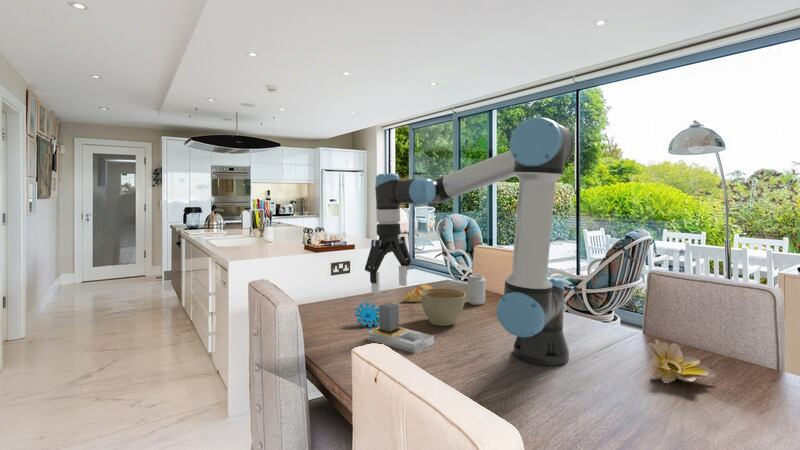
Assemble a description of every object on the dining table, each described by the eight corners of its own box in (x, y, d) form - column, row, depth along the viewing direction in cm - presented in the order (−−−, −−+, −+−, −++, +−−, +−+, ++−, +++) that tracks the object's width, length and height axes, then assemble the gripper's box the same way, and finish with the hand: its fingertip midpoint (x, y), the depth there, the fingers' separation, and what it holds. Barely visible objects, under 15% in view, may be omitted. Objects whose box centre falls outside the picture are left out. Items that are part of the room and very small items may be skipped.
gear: (357, 325, 141) (354, 300, 147) (352, 333, 145) (350, 308, 151) (387, 326, 145) (383, 301, 151) (382, 334, 149) (379, 310, 155)
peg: (398, 338, 133) (398, 304, 132) (389, 341, 130) (389, 307, 129) (388, 335, 136) (388, 302, 135) (379, 338, 133) (379, 305, 132)
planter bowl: (444, 332, 138) (444, 301, 137) (411, 321, 150) (411, 292, 150) (474, 322, 149) (474, 293, 148) (441, 313, 161) (441, 285, 160)
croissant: (407, 312, 175) (412, 297, 171) (395, 297, 181) (399, 283, 178) (444, 303, 187) (450, 289, 183) (431, 289, 194) (436, 276, 190)
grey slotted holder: (433, 343, 128) (433, 334, 128) (414, 353, 120) (414, 343, 120) (387, 331, 140) (387, 322, 140) (367, 339, 132) (367, 330, 132)
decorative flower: (683, 391, 93) (676, 345, 95) (637, 382, 103) (632, 341, 105) (724, 384, 99) (717, 341, 100) (677, 376, 109) (672, 337, 111)
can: (486, 305, 172) (487, 277, 171) (468, 305, 172) (469, 277, 171) (483, 301, 179) (483, 273, 178) (466, 301, 179) (466, 273, 179)
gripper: (403, 220, 142) (404, 281, 144) (351, 225, 123) (353, 295, 124) (420, 221, 138) (422, 283, 139) (370, 225, 118) (372, 298, 119)
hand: (389, 289), depth 132 cm, fingers open, 13 cm apart
